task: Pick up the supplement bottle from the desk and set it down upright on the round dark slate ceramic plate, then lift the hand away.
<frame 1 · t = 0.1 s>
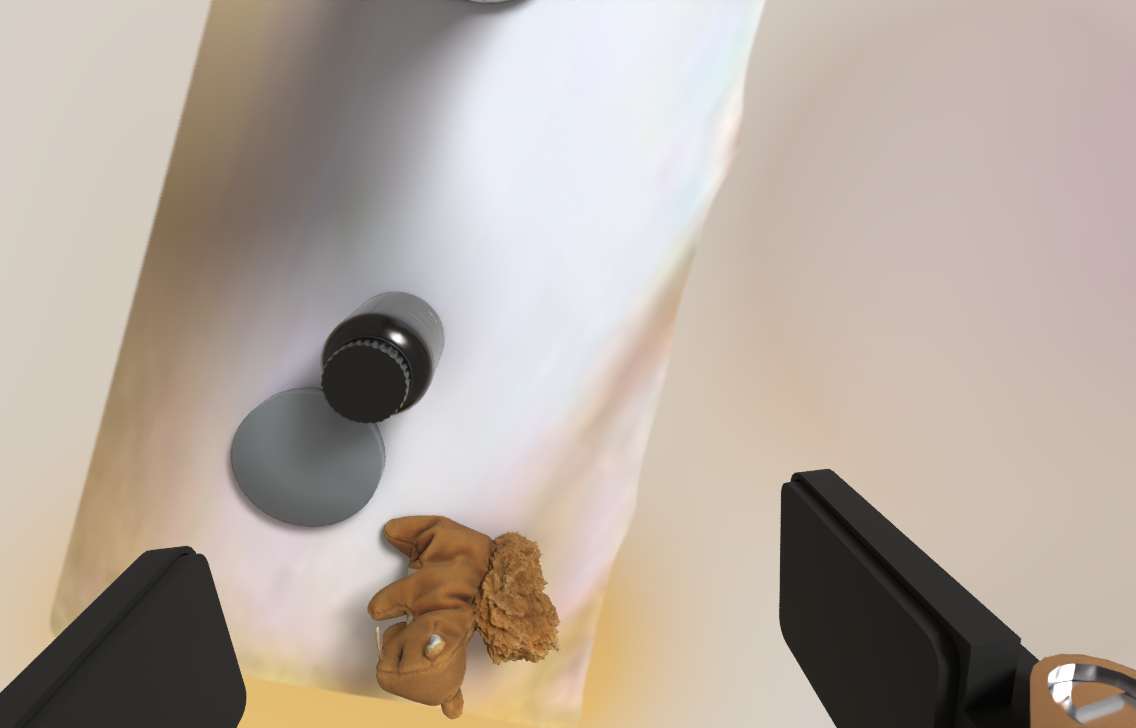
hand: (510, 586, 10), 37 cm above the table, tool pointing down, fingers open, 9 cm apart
stuffed squirrel: (471, 558, 52), on the table
supplement bottle: (401, 334, 46), on the table
slate plate: (313, 454, 47), on the table
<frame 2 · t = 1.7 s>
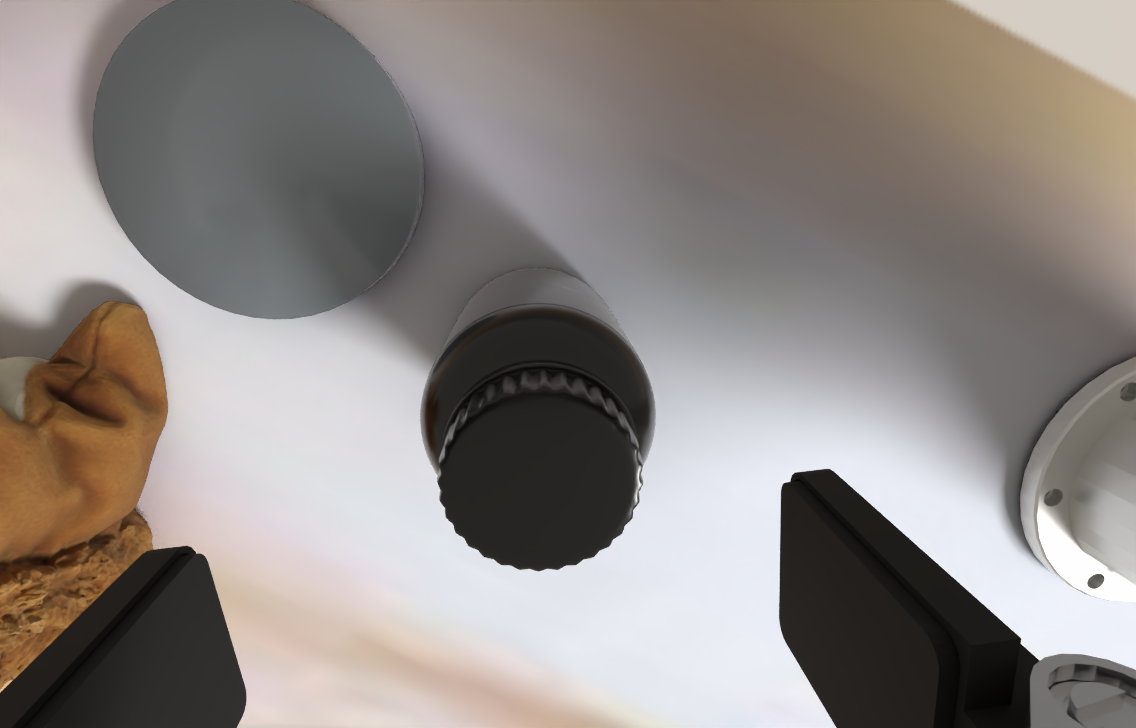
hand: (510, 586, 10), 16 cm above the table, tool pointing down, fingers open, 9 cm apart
stuffed squirrel: (76, 456, 26), on the table
supplement bottle: (536, 347, 25), on the table
slate plate: (276, 167, 23), on the table
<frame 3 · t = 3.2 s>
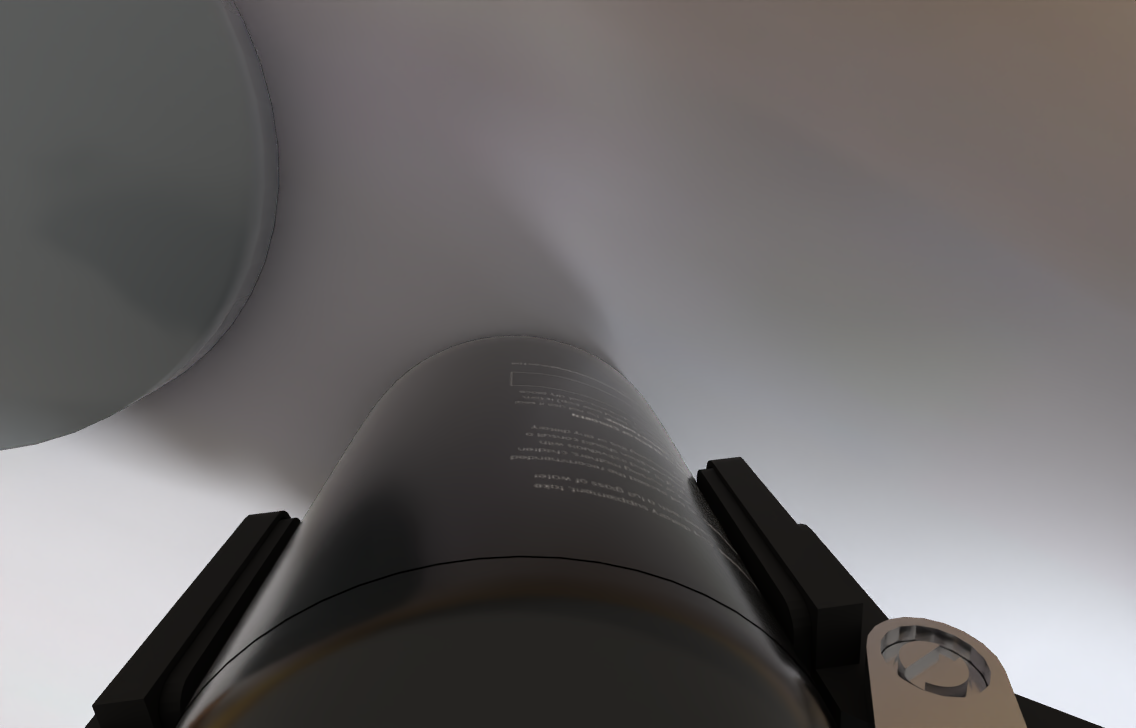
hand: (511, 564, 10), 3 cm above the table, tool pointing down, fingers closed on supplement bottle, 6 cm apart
supplement bottle: (514, 475, 14), on the table, touching gripper
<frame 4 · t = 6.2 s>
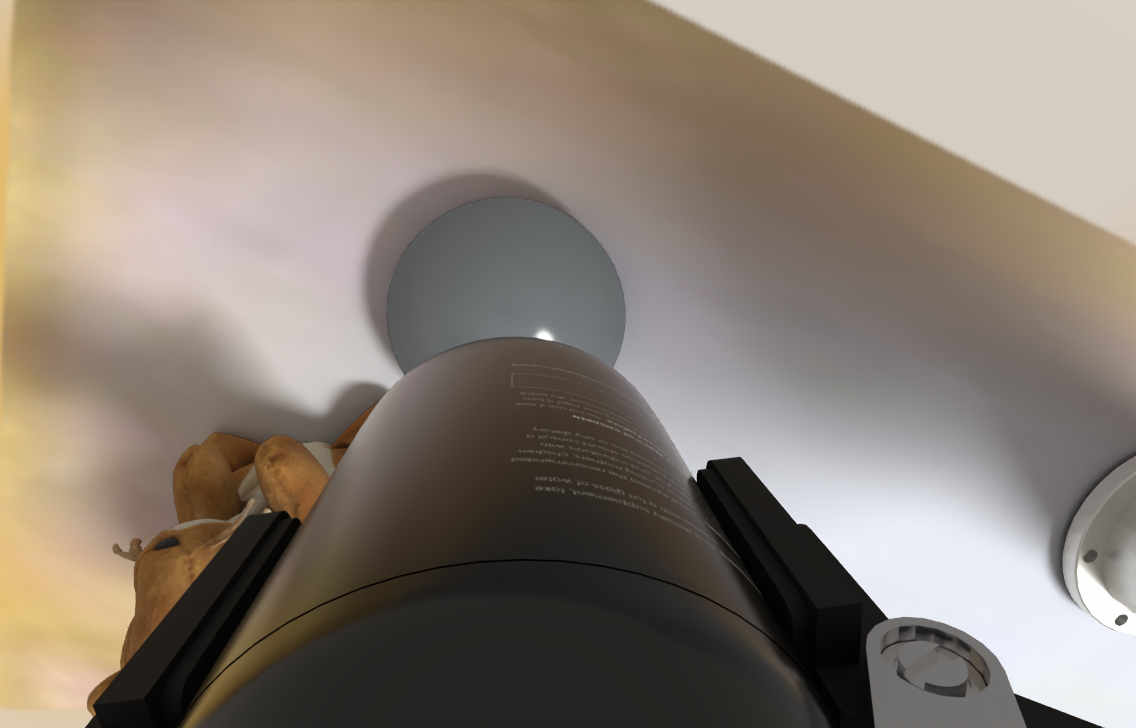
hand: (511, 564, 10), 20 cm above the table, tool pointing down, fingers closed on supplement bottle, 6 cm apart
stuffed squirrel: (328, 515, 32), on the table
supplement bottle: (514, 476, 14), point 17 cm above the table, touching gripper
slate plate: (508, 314, 29), on the table
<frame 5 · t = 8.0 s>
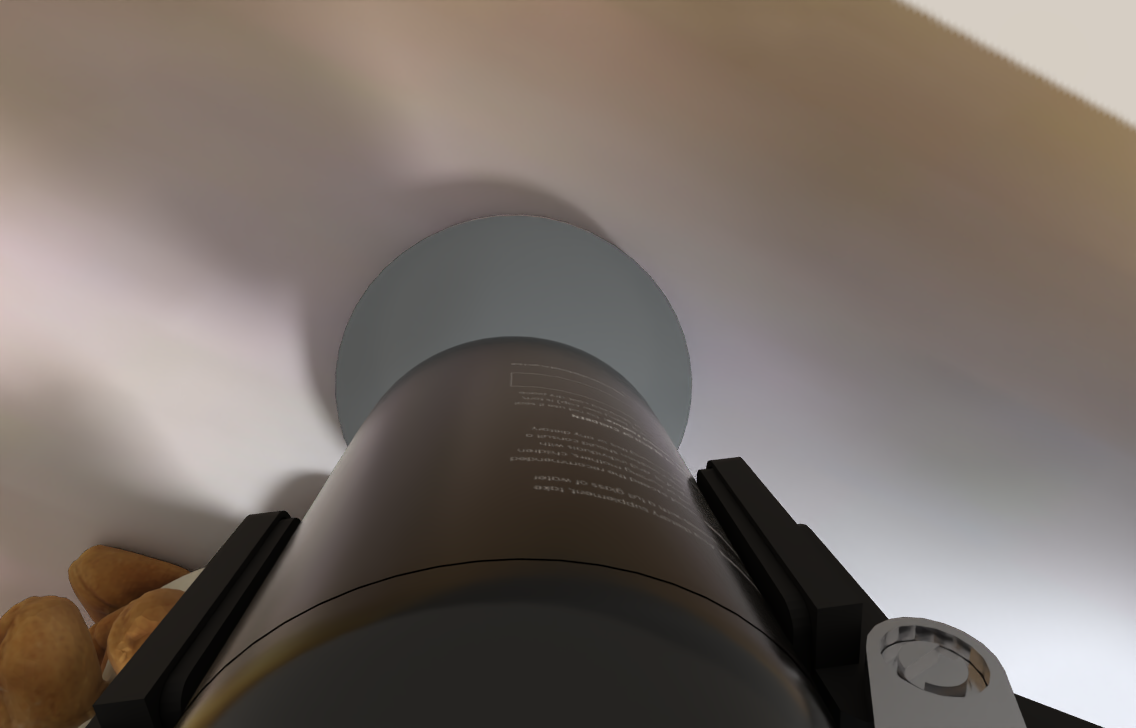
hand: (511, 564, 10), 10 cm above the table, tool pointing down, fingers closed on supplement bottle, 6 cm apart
stuffed squirrel: (265, 651, 23), on the table
supplement bottle: (514, 475, 14), point 7 cm above the table, touching gripper
slate plate: (517, 383, 20), on the table
when the fingers open (6 cm above the table, at t = 9.4 s): supplement bottle drops 1 cm, resting on slate plate.
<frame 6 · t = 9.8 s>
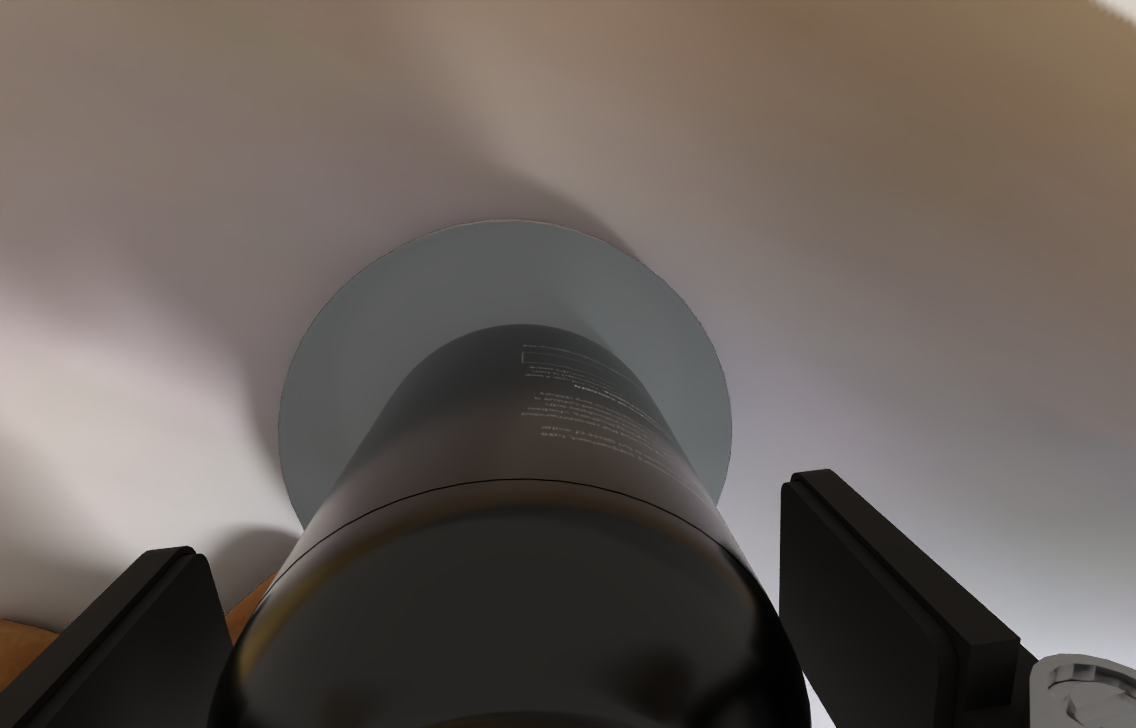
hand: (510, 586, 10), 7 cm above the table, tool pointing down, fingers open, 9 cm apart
supplement bottle: (523, 453, 15), point 1 cm above the table, touching slate plate
slate plate: (512, 429, 16), on the table
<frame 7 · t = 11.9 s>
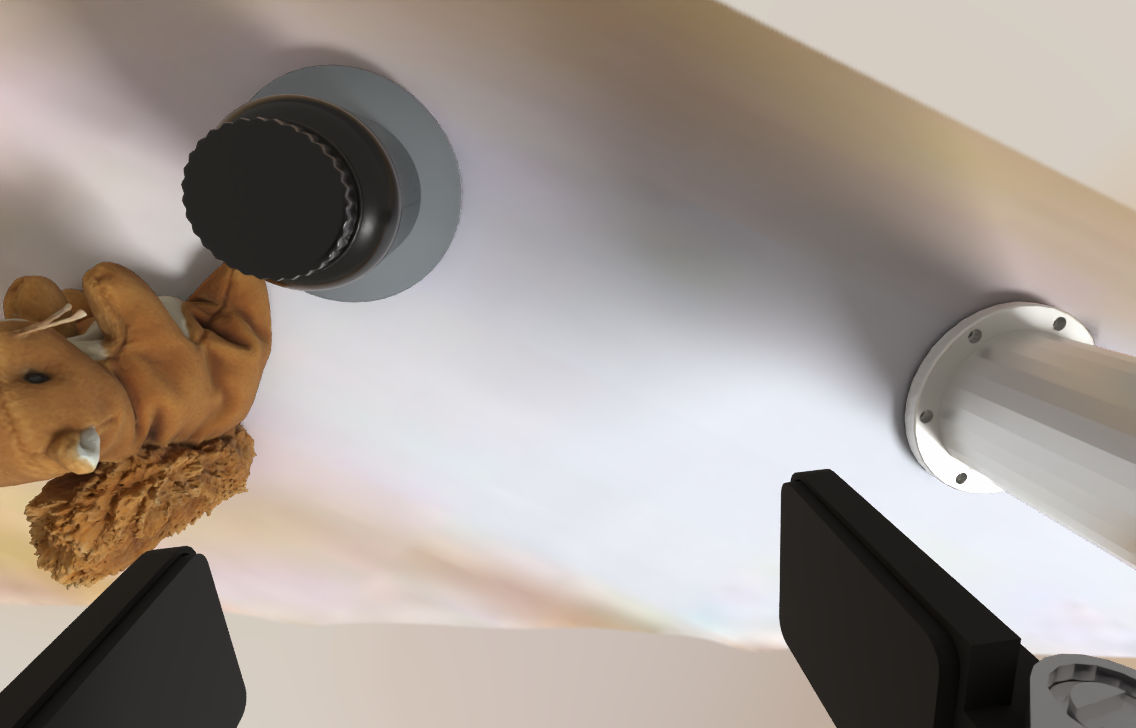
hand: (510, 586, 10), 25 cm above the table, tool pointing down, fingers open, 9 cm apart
stuffed squirrel: (192, 379, 33), on the table
supplement bottle: (352, 191, 29), point 1 cm above the table, touching slate plate
slate plate: (352, 189, 31), on the table
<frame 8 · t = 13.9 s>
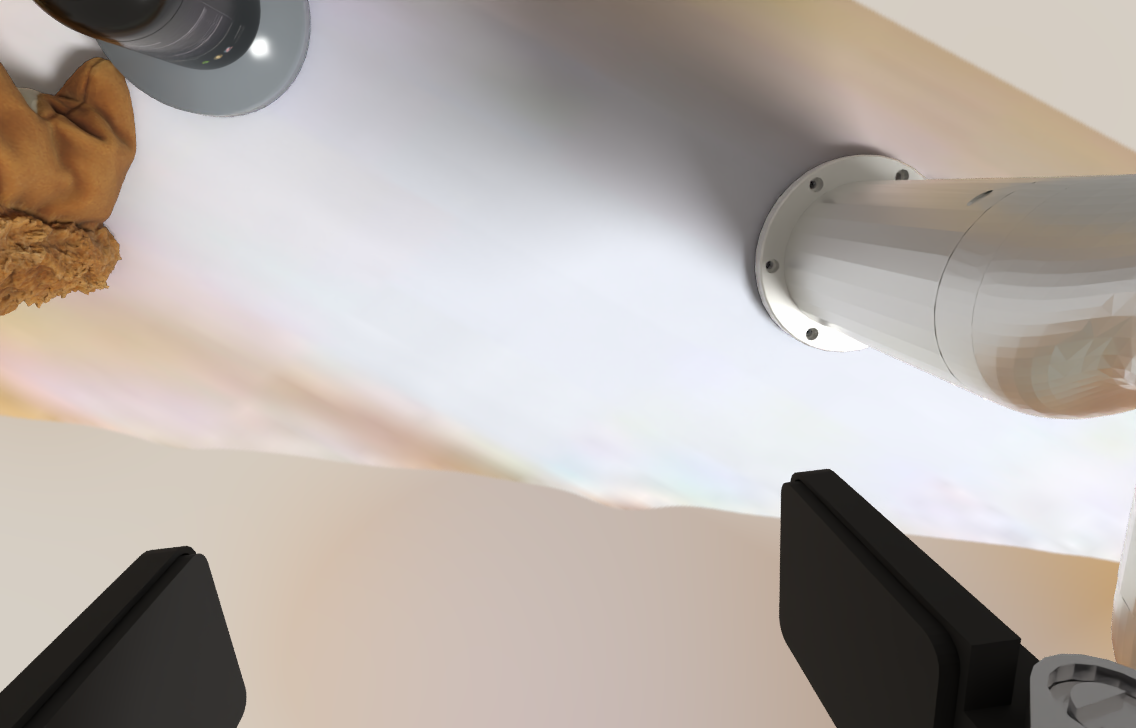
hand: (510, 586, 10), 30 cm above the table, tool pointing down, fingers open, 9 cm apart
stuffed squirrel: (65, 185, 35), on the table
supplement bottle: (199, 4, 32), point 1 cm above the table, touching slate plate
slate plate: (206, 9, 33), on the table
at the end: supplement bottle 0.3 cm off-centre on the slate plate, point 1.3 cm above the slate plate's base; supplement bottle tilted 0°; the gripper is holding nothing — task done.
